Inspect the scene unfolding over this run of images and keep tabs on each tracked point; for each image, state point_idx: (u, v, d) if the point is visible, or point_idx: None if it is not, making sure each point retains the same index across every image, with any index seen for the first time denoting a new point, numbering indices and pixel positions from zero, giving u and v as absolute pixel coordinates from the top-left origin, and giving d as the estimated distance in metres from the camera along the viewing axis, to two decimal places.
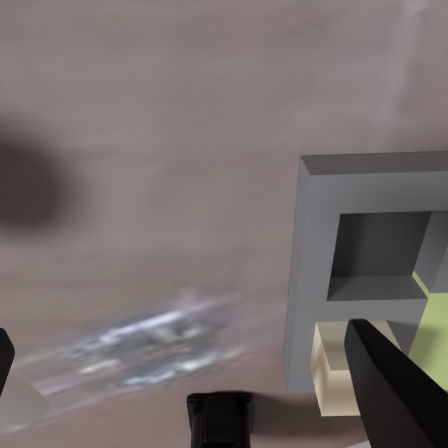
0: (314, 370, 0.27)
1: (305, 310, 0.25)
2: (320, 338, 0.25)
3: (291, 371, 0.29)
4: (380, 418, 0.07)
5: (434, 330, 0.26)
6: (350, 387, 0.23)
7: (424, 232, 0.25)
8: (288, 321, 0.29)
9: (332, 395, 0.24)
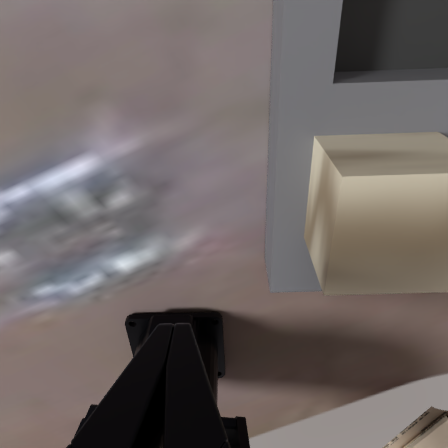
0: (311, 231, 0.16)
1: (295, 107, 0.14)
2: (321, 151, 0.13)
3: (274, 247, 0.17)
4: None
5: None
6: (379, 224, 0.12)
7: None
8: (269, 167, 0.18)
9: (344, 246, 0.12)
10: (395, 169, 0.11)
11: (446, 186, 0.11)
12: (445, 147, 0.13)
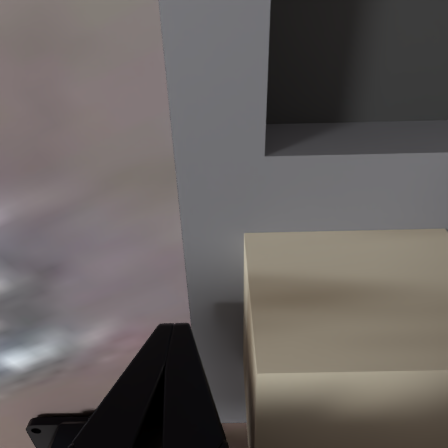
0: (245, 372, 0.10)
1: (204, 191, 0.08)
2: (247, 272, 0.08)
3: None
4: None
5: None
6: (337, 434, 0.06)
7: None
8: None
9: None
10: (365, 351, 0.06)
11: None
12: None
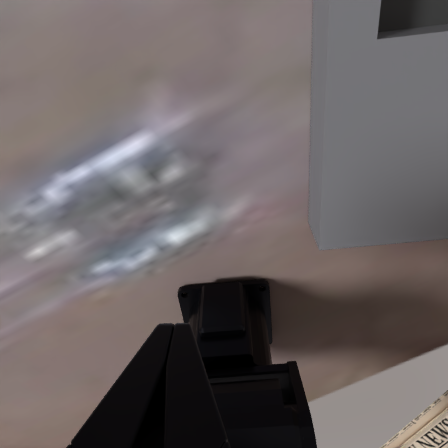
0: None
1: (341, 65, 0.15)
2: None
3: (322, 205, 0.19)
4: None
5: None
6: None
7: None
8: (313, 130, 0.19)
9: None
10: None
11: None
12: None
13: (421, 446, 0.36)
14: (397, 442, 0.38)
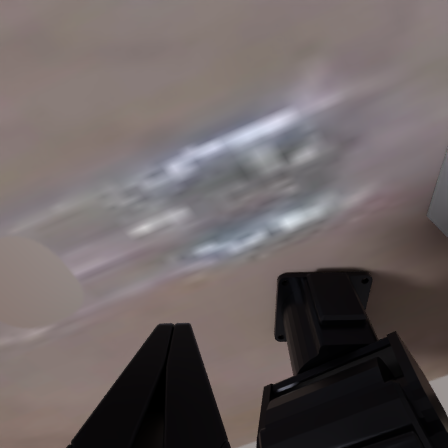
0: None
1: None
2: None
3: None
4: None
5: None
6: None
7: None
8: None
9: None
10: None
11: None
12: None
13: None
14: None
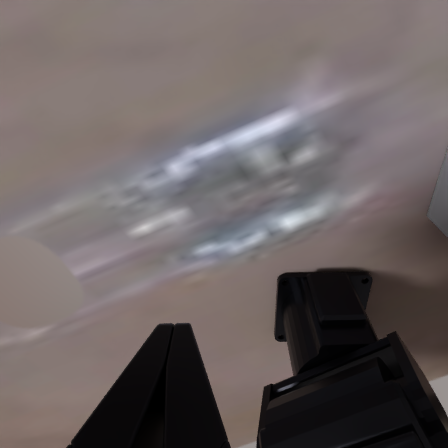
0: None
1: None
2: None
3: None
4: None
5: None
6: None
7: None
8: None
9: None
10: None
11: None
12: None
13: None
14: None
